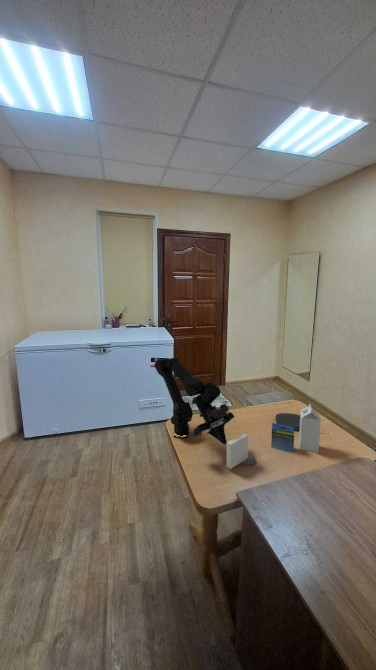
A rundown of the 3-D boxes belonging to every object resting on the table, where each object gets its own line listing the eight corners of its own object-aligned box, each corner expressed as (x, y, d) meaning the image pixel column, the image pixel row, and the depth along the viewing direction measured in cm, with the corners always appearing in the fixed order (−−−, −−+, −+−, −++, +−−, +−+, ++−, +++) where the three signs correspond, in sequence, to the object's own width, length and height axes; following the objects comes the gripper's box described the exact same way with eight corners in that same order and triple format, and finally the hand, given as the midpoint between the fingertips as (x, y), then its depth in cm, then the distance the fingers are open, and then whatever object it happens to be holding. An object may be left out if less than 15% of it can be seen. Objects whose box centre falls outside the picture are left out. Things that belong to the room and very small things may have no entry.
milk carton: (316, 445, 116) (318, 404, 113) (318, 454, 109) (321, 410, 107) (298, 442, 118) (300, 402, 115) (299, 451, 112) (302, 408, 109)
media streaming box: (303, 419, 141) (304, 414, 141) (309, 433, 127) (309, 427, 127) (274, 416, 144) (274, 411, 144) (277, 430, 130) (277, 424, 130)
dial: (244, 452, 109) (244, 428, 108) (258, 460, 104) (259, 434, 103) (221, 466, 101) (221, 439, 99) (235, 475, 96) (236, 447, 94)
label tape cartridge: (294, 450, 113) (295, 422, 111) (293, 455, 109) (294, 427, 108) (272, 445, 117) (273, 419, 115) (270, 450, 113) (271, 422, 111)
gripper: (197, 405, 100) (219, 445, 93) (231, 393, 111) (252, 427, 105) (185, 418, 107) (204, 455, 100) (217, 405, 119) (236, 438, 112)
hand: (225, 443), depth 104 cm, fingers closed
